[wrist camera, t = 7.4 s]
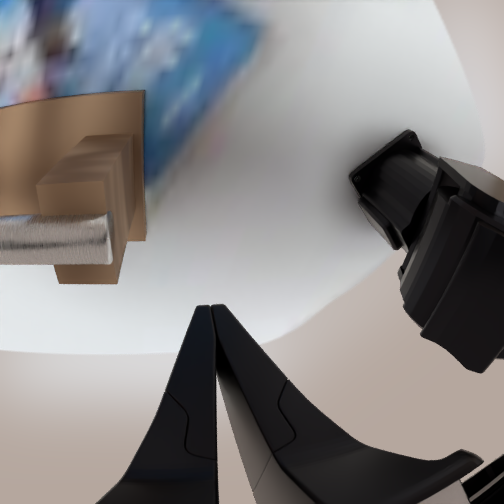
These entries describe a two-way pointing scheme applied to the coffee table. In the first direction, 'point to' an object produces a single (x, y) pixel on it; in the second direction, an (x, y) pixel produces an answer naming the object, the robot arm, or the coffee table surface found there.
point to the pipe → (55, 239)
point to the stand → (77, 167)
